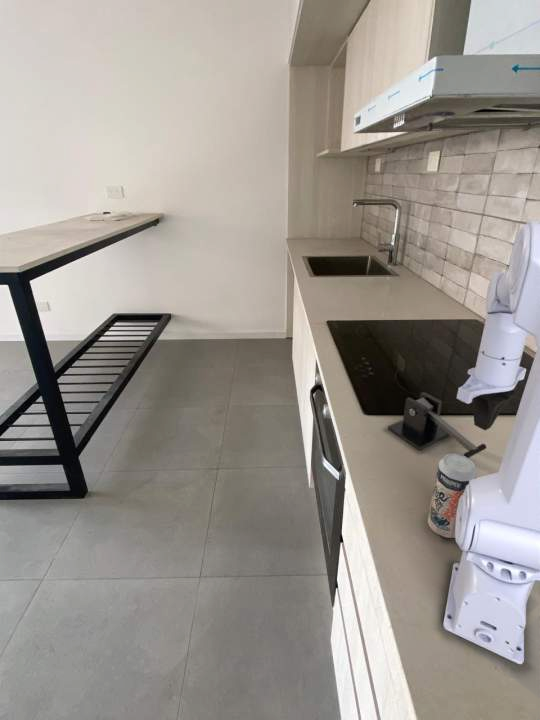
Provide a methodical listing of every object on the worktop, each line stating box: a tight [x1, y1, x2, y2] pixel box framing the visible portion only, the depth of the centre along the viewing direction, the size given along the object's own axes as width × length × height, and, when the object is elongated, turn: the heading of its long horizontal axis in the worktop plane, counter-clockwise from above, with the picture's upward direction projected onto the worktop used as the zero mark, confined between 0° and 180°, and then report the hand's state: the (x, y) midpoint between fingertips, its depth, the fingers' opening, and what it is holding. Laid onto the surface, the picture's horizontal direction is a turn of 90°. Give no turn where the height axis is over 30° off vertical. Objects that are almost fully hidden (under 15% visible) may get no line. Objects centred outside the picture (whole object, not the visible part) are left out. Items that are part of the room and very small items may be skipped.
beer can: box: [427, 453, 478, 539], centre depth 56 cm, size 5×5×12 cm
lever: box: [415, 398, 487, 459], centre depth 73 cm, size 14×5×2 cm, turn 30°
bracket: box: [387, 391, 451, 452], centre depth 78 cm, size 8×9×8 cm
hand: (482, 426), depth 66 cm, fingers closed
